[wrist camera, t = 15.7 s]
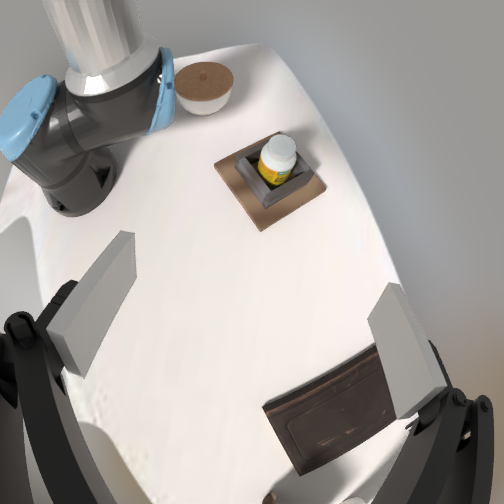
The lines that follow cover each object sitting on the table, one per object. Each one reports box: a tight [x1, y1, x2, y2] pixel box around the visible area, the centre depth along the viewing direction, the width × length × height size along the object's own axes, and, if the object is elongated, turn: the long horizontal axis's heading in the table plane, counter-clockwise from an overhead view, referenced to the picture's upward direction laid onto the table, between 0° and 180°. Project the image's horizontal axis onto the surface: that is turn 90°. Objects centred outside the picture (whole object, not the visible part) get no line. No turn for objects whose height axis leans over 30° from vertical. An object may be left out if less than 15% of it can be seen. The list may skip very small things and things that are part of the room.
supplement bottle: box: [256, 134, 296, 189], centre depth 41 cm, size 5×5×10 cm
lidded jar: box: [174, 62, 233, 116], centre depth 45 cm, size 11×11×9 cm
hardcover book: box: [262, 345, 397, 476], centre depth 39 cm, size 16×23×2 cm
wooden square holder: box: [214, 132, 326, 232], centre depth 44 cm, size 14×14×5 cm
